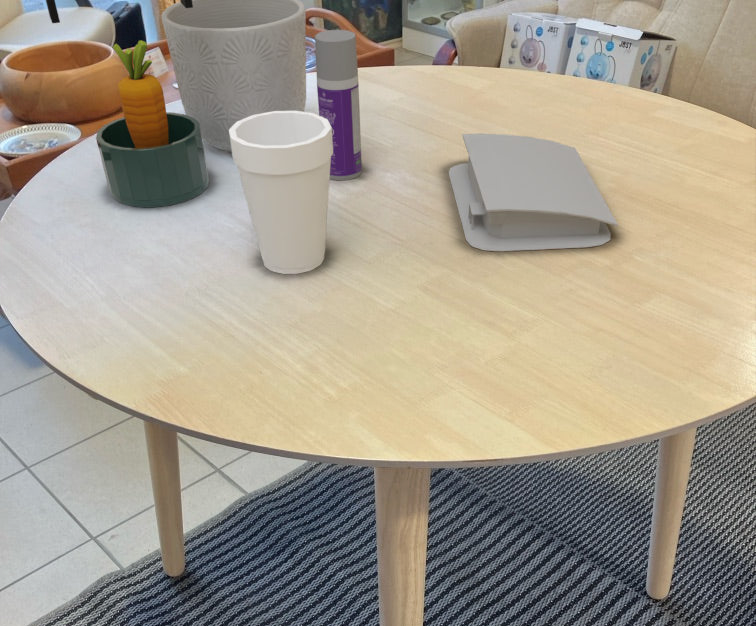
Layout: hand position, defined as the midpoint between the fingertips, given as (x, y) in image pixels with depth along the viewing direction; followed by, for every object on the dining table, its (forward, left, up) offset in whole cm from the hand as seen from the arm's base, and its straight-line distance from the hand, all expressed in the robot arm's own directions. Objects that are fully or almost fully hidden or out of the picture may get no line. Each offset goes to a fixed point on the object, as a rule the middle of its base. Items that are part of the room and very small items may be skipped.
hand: (122, 12), depth 89 cm
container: (+21, +6, -19) cm, 29 cm away
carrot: (0, 0, -18) cm, 18 cm away
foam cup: (+20, -16, -19) cm, 32 cm away
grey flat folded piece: (+43, 0, -19) cm, 47 cm away
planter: (+7, +15, -19) cm, 25 cm away
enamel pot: (0, 0, -18) cm, 18 cm away
